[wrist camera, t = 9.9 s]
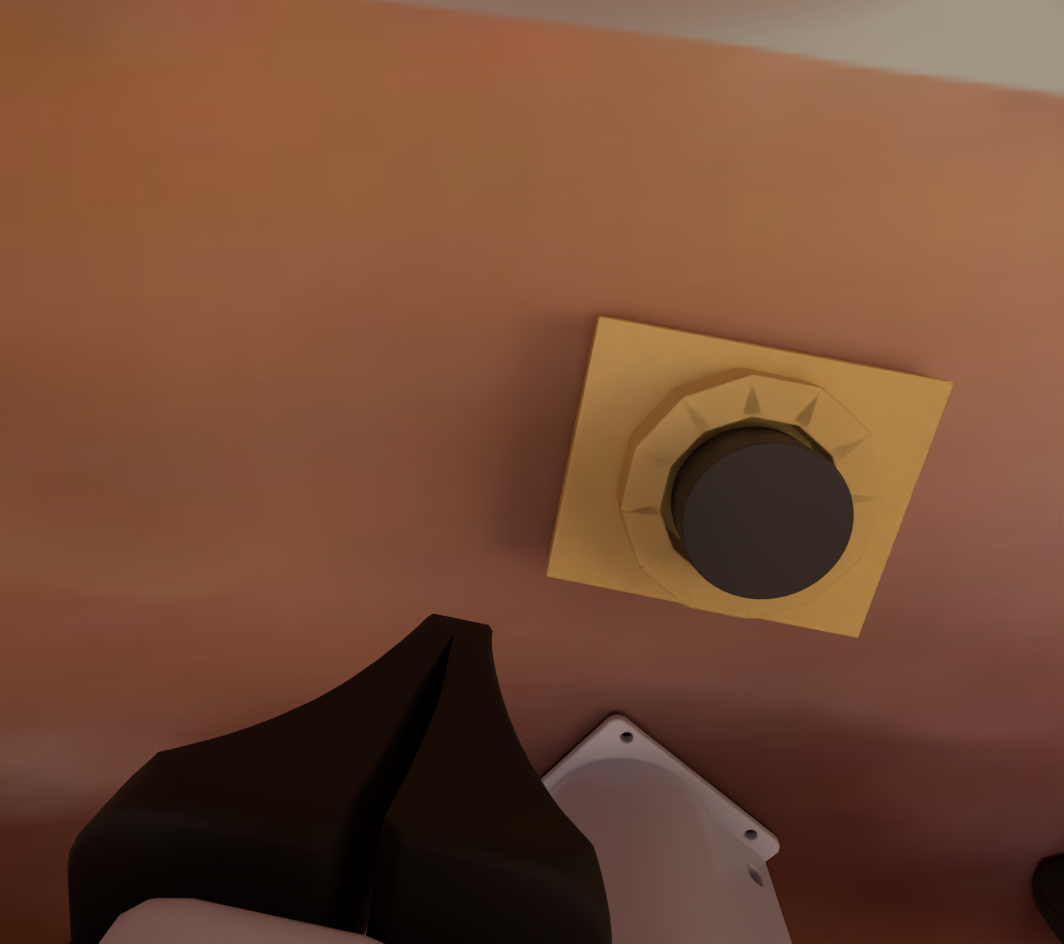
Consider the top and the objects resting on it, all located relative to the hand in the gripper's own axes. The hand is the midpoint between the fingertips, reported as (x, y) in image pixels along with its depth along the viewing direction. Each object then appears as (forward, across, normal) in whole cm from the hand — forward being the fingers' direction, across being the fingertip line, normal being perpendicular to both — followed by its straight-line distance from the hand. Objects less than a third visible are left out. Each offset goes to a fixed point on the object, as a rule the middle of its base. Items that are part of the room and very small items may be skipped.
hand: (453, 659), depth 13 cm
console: (+10, -7, -3) cm, 13 cm away
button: (+7, -7, -3) cm, 10 cm away
